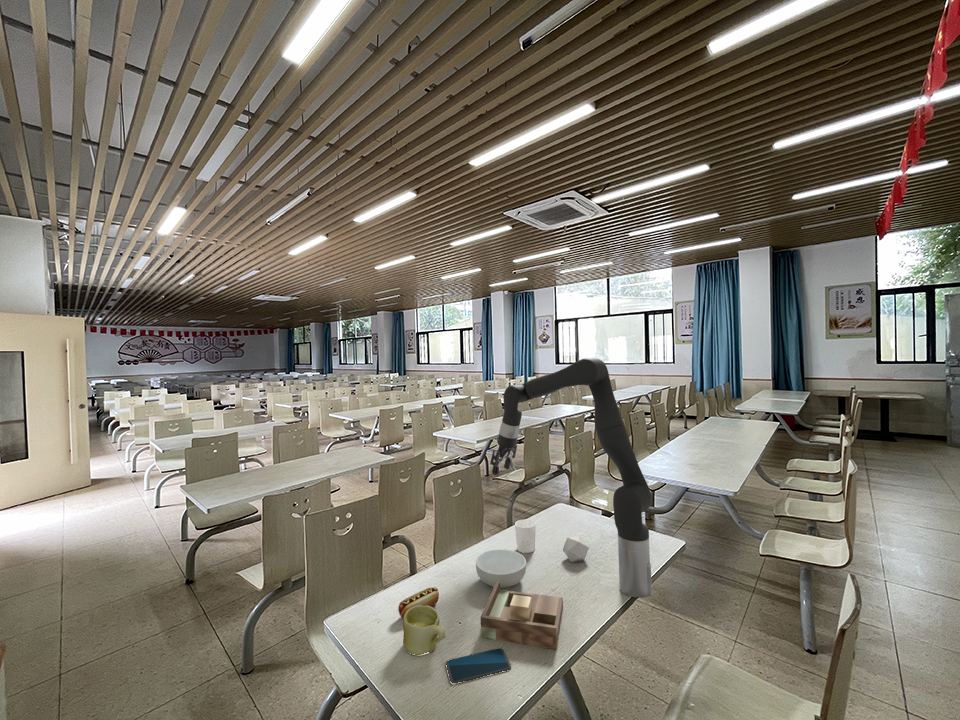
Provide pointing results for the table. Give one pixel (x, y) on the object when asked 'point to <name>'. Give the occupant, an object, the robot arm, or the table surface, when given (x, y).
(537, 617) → the box
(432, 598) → the hot dog
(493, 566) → the cereal bowl
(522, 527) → the white cup
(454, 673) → the smartphone
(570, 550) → the die
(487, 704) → the table surface
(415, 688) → the table surface
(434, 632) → the mug
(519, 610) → the maple block
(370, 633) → the table surface
